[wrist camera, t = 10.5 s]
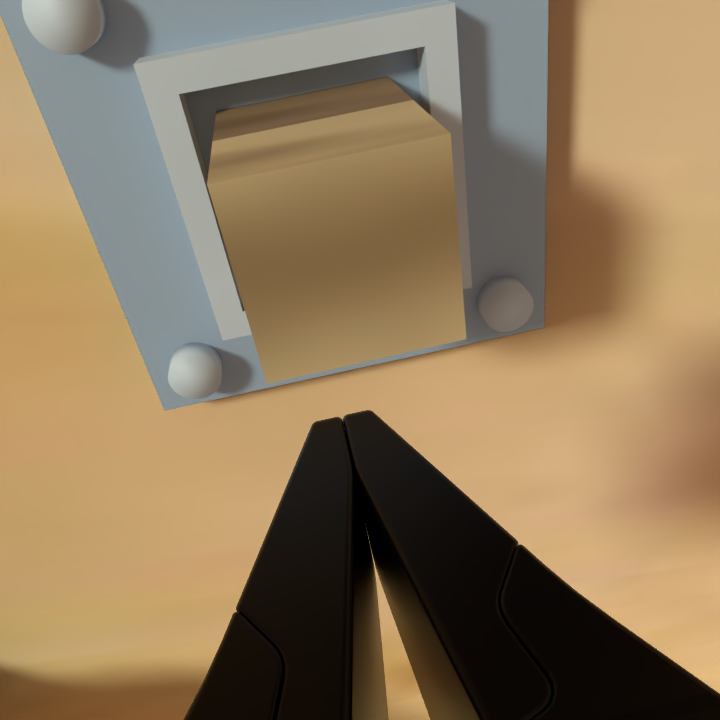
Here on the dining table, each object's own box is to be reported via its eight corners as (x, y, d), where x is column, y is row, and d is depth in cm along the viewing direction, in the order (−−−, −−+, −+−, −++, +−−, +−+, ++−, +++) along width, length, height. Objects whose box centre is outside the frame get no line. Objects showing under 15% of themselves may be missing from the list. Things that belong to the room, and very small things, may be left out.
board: (530, 310, 23) (556, 342, 21) (168, 389, 22) (161, 429, 20) (530, -152, 16) (569, -164, 14) (-11, -54, 15) (-45, -53, 13)
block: (406, 236, 19) (466, 339, 14) (259, 268, 19) (266, 384, 14) (387, 76, 17) (450, 133, 12) (215, 111, 16) (206, 184, 12)
